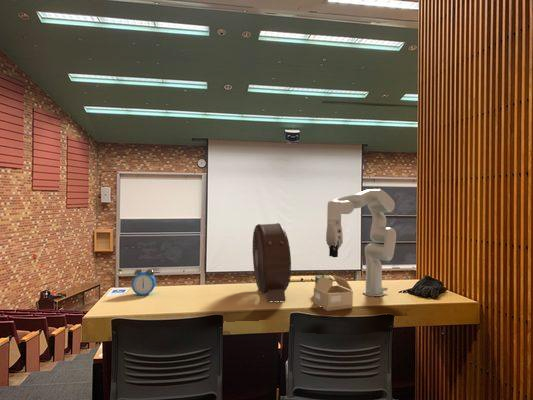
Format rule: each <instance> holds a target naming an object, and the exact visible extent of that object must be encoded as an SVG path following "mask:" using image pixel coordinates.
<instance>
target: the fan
mask: <svg viewBox="0 0 533 400" xmlns="http://www.w3.org/2000/svg"><path fill="white" fill-rule="evenodd" d="M291 258H292V257H291V248H290V242H289V238H288V235H287V232H286V230H285V228H284V226H283V225H282V224H281V223H280V222H279V223H278V222H277V223H268V224H267V223H266V224H265V223H264V224H263V223H262V224H261V223H258V224H256V225H255V227H254V229H253V234H252V262H253V273H254V278H255V284H256V287H257V289H258V291H259V292H260V294H264V295H265V294H266V297H267V301H269V302H270V301H273V302H272V303H275V302H274V301H279V302H278V303H281V302H280V301H286V291H287V289H288V287H289V286H290V283H291V278H292V276H291V274H292V273H291V272H292V259H291ZM269 302H268V303H269Z"/></svg>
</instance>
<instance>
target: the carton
mask: <svg viewBox="0 0 533 400" xmlns="http://www.w3.org/2000/svg"><path fill="white" fill-rule="evenodd" d="M353 297H354V294H353V290H350V289H347V288H345V287H342V286H340V285H338V284H337V285H332V286H331V287H330V289H329V290H328V292H324V291H322V290H320V289H318V288H316V287H315V286H314V287H313V304H314V303H315V304H317V305H319V306H321V307H323V308H322V309H323V310H325V311H327V312H329V311H330V312H331V311H336V310H337V311H338V310H347V309H353V307H354V306H353V303H354V302H353V299H354V298H353ZM315 304H314V305H315ZM317 305H316V306H317ZM319 306H318V307H319ZM321 307H320V308H321Z"/></svg>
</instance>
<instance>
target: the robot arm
mask: <svg viewBox="0 0 533 400" xmlns="http://www.w3.org/2000/svg"><path fill="white" fill-rule="evenodd" d="M365 206H367V209H368V210H369V212H370V214H371V216H372V217H371V218H372V220H371V221H372V223H371V226H370V233H369V238H370V240H371V241H373V242H378V243H373V242H371V243H368V244H366V245H365V246H364V255H365V290H363V291H362V293H363V295H365V296H369V297H374V296H380V297H383V296H382V295H385V293H384V291H388V287H386V286H385V287H383V285H382V284H383V283H382V282H383V281H382V280H383V266H382V262H381V261H386V262H390V261H391V260H392V259H393V257H394V254H395V248H396V242H397V232H396V230H395V229H394V228H392V227H387V217H386V215H385V214H384V213H391V212H393V211H394V210H395V207H396V203H395V201H394V199H393V198H392V197H391V196H390V195H389V194H388V193H387V192H385V190H383V189H381V188H378V189H377V188H373V189H372V188H371V189H370V188H369V189H365V190H362V191H360V192H358V193H356V194H350V195H347V196H346V195H345V196H343V197H338V198H335V199H333V200H330V201H328V202H327V207H326V209H327V213H326V214H327V215H326V216H327V217H326V219H327V220H326V225H327V226H326V232H325V233H326V234H325V235H326V236H325V240H326V245H327V246H328V249H329V250H328V252H329V254H328V256H329V257H332V258H338V257H339V250H340V249H339V248H341V247H342V245H343V241H344V240H343V238H344V237H343V226H342V215H349V214H351V213H353V211H354V209H361V208H363V207H365ZM381 243H383V244H381Z"/></svg>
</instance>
